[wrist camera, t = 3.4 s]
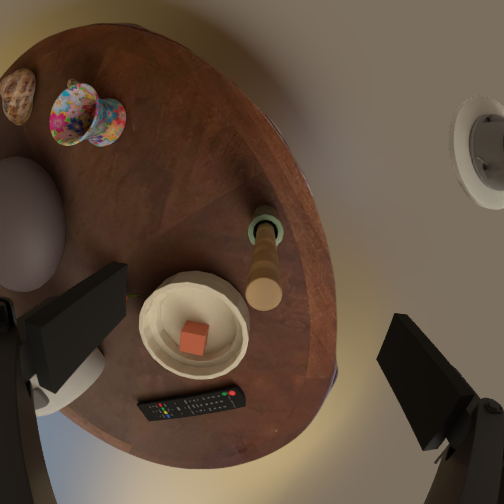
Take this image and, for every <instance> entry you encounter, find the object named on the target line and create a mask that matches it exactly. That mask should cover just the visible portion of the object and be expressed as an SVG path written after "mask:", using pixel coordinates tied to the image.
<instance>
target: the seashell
mask: <svg viewBox="0 0 504 504" xmlns="http://www.w3.org/2000/svg"><path fill="white" fill-rule="evenodd" d="M35 87H36V79H35V74H34V73H33V72H32V71H31V70H30V69H26V68H23V69H19V70H17V71H15V72H13V73H12V74H11V75H8V76H7V77H6V78H4V79H3V80H2V81H1V83H0V94H1V97H2V106H3V110H4V113H5V115H6V116H7V118H8V119H9V120H10V121H12V122H13V123H14V124H16V125H23V124H24V123H25V122H26V121H27V119H28V118H29V117H30V113H31V110H32V106H33V96H34V93H35Z"/></svg>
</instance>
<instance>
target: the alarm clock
mask: <svg viewBox="0 0 504 504" xmlns="http://www.w3.org/2000/svg"><path fill="white" fill-rule="evenodd" d="M105 364H106V360H105V357H104V356H103V355H102V353H101V352H100V350H99V349H98V347H96V349H95V350H94V351H93V352H92V353H91V354H90V355H89V356H88V357H87V359H86V360H85V361H84V362H83V363H82V364H81V365H80V366H79V368H78V369H77V370H76V371H75V372H74V373H73V374H72V376H71V377H70V378H69V379H68V380H67V381H66V383H65V384H64V385H63V386H62V387H61V388H60V389H59V391H58V392H57V393H56V394H54V393H52V392H50V391H48V390H46V389H44V388H42V387H40V386H39V383H38V379H37V375H36V374H35V375H34V376H33V377H32V378H31V379H30V380H31V383H32V387H33V397H34V405H35V413H36V416H44V415H48V414H51V413H53V412H55V411H57V410H60V409H61V408H63V407H65V406H66V405H68V404H69V403H71V402H72V401H73V400H75V399H76V398H77V397H79V396H80V395H81V394H82V393H83V392H84V391H86V390H87V389H88V388H89V387H90V386H91V385H92V384H93V383H94V381H95V380H96V379H97V378H98V377H99V376H100V374H101V372H102V371H103V369H104V367H105Z"/></svg>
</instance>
